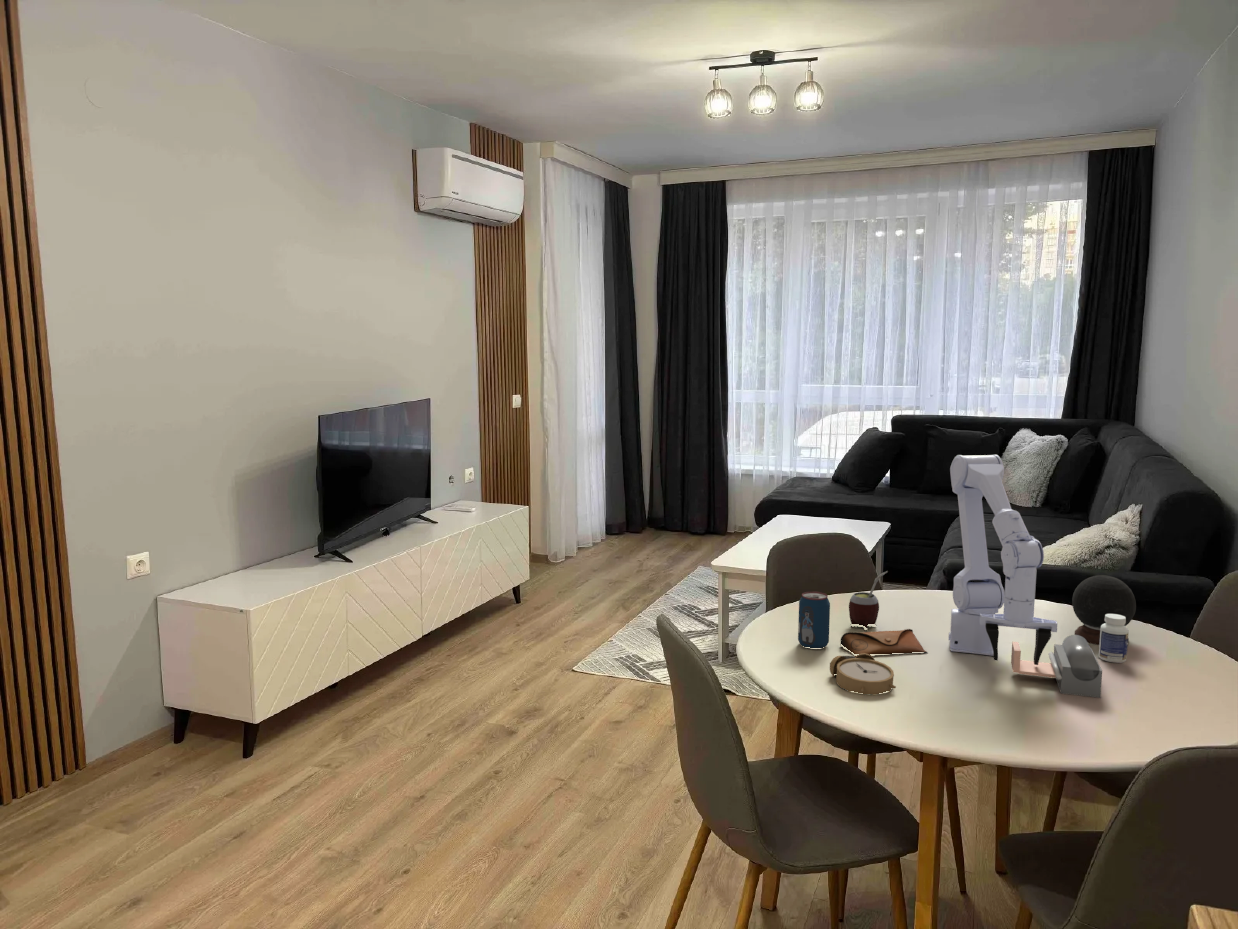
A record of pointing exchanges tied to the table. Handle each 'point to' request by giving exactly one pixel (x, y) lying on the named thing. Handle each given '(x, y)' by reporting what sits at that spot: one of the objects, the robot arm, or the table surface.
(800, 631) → the soda can
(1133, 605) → the black ball on stand
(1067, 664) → the dispenser
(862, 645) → the sunglasses case
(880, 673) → the alarm clock
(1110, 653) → the pill bottle
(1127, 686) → the table surface
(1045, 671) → the pink l-shaped bracket
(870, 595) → the mate gourd
